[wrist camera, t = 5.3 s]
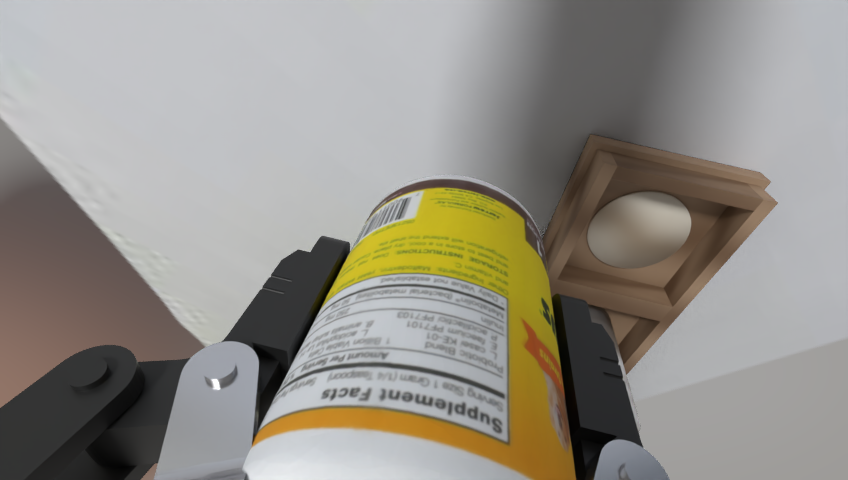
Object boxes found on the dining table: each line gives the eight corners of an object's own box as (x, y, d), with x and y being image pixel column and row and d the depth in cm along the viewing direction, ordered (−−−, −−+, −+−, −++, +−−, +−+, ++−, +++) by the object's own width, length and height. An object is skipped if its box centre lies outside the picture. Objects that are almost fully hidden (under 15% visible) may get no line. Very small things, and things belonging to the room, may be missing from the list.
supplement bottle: (514, 320, 14) (524, 840, 6) (364, 286, 14) (174, 737, 6) (574, 187, 10) (810, 1023, 2) (374, 145, 11) (-42, 762, 3)
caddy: (590, 134, 24) (631, 223, 16) (760, 172, 24) (888, 283, 16) (497, 336, 37) (495, 442, 29) (607, 363, 37) (636, 478, 29)
